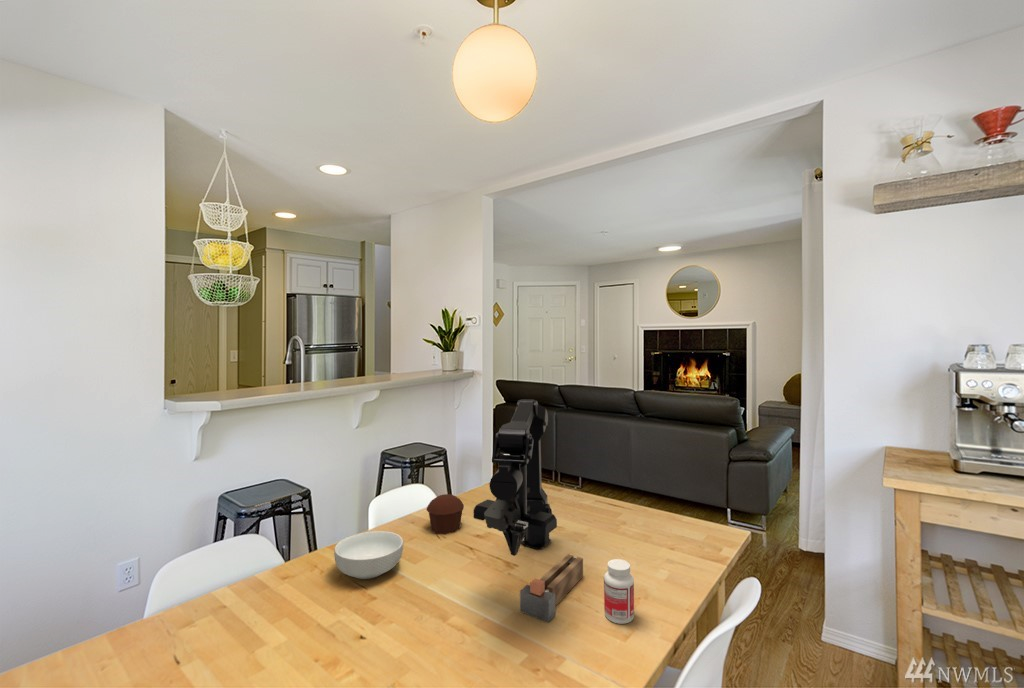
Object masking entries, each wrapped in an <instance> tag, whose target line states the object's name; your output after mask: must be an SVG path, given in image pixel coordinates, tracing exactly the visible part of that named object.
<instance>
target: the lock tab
mask: <svg viewBox="0 0 1024 688" xmlns="http://www.w3.org/2000/svg"><path fill="white" fill-rule="evenodd" d="M529 585H530V593H533V594H536V595H539V596H541V595H542V594H543V593H544V592H545V581H542V580H540V579H538V578H536V577H534V579H532V580H531V581H530V582H529Z"/></svg>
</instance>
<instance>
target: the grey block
mask: <svg viewBox="0 0 1024 688" xmlns="http://www.w3.org/2000/svg"><path fill="white" fill-rule="evenodd" d="M520 612H521V613H523V614H524V615H525V614H526V615H528V616H531V617H533V618H536V619H538V620H540V621H544V622H545V623H550V622H551V621H552V619H553V618H555V616H556V606H555V594H553V593H551V592H549V590H547V589H546V590H545V592H544V593H543V594H542V595H541V596H539V595H536V594H533V593H530V584H526V585H525V586H524V587H522V589H520V590H519V613H520Z"/></svg>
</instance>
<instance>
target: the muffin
mask: <svg viewBox="0 0 1024 688" xmlns="http://www.w3.org/2000/svg"><path fill="white" fill-rule="evenodd" d="M464 509H465V506H464V503H463V501H462V500H461V499H460V498H459V497H458V496H456V495H454V494H450V493H449V494H448V493H445V494H441V495H438V496H436V497H434V498H433V499H432V500H431V501H430V502H429V503H428V505H427V506H426V511H427V512H428V517H429V522H430V528H431V532H433V533H435V534H436V535H437V534H438V535H449V534H454V533H456V532H457V531H458V530H460V529H461V523H462V515H463V510H464Z"/></svg>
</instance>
